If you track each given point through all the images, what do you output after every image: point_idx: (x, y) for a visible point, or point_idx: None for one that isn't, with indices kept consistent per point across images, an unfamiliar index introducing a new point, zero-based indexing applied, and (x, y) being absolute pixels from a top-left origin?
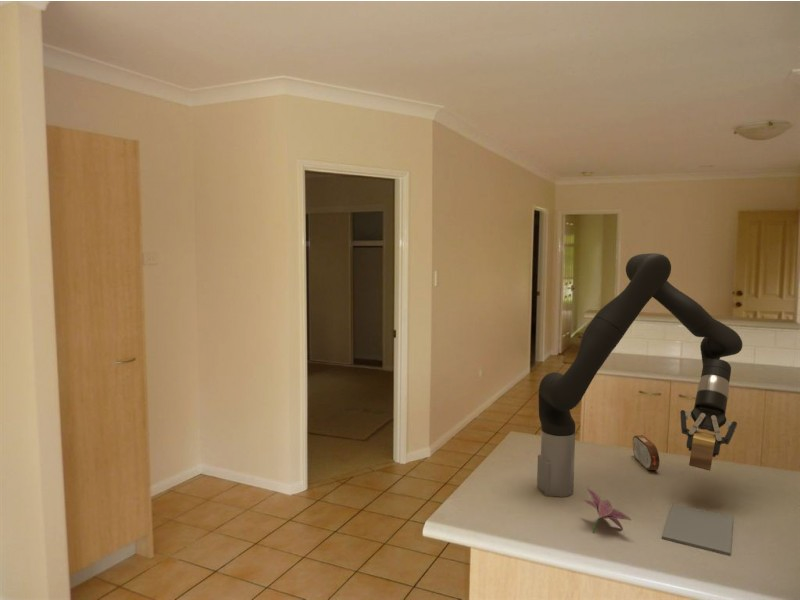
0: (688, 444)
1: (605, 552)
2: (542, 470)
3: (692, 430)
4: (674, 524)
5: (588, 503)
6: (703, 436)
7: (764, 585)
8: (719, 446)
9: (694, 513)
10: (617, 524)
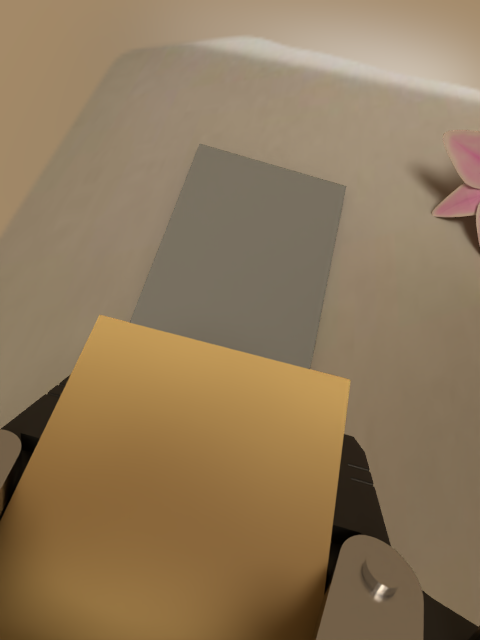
0: (345, 446)
1: (452, 118)
2: None
3: (375, 624)
4: (310, 251)
5: None
6: (197, 482)
7: (166, 63)
8: (37, 409)
9: (241, 341)
10: (452, 208)
